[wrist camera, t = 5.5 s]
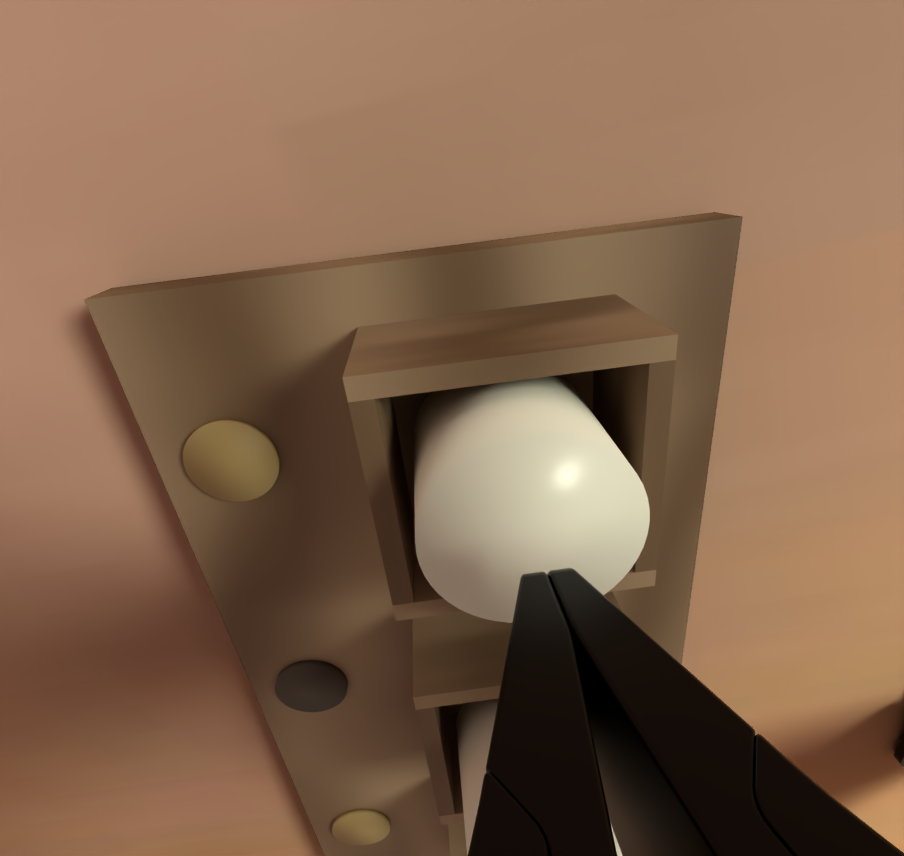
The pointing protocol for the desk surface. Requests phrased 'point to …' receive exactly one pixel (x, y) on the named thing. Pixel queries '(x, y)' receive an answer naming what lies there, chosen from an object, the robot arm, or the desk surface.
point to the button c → (520, 493)
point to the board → (408, 474)
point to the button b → (477, 757)
